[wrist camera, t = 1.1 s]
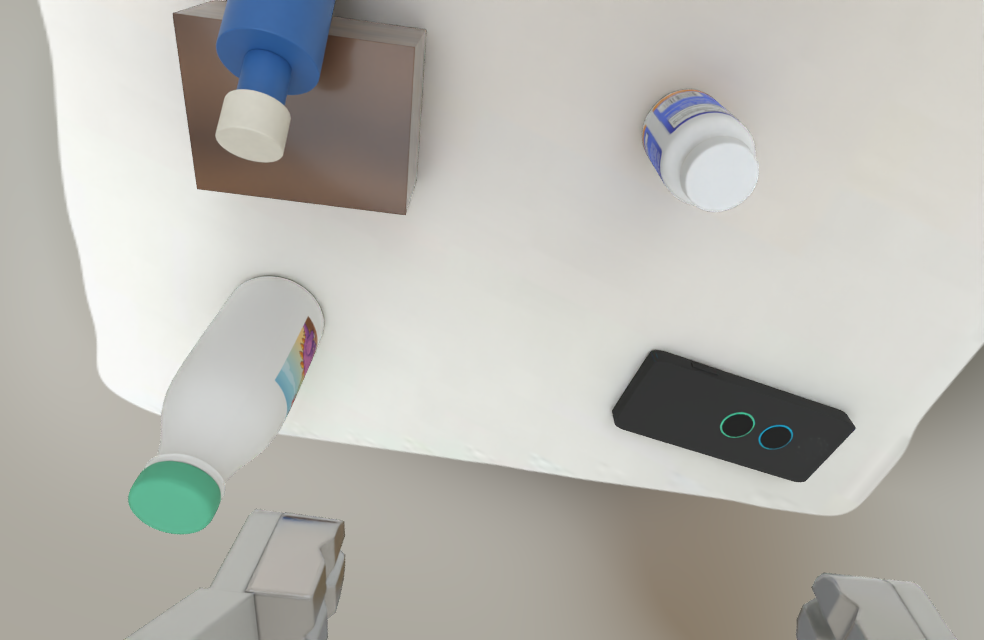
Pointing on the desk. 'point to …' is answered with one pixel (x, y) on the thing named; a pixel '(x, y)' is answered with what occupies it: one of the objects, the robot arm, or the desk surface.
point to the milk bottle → (228, 401)
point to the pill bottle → (700, 151)
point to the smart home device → (730, 417)
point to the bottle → (268, 69)
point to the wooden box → (316, 117)
